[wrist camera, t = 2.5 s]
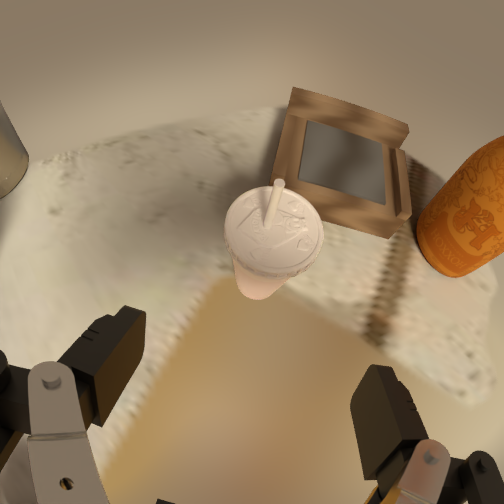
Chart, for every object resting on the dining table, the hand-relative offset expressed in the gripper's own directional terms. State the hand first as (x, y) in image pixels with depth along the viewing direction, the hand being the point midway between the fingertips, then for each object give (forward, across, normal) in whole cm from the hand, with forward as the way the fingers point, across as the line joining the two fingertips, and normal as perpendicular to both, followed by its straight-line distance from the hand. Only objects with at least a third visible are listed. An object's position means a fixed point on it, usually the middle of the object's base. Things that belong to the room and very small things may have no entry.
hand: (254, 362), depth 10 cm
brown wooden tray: (+27, -6, -5) cm, 28 cm away
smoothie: (+17, 0, +5) cm, 18 cm away
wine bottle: (+24, -21, -2) cm, 32 cm away
